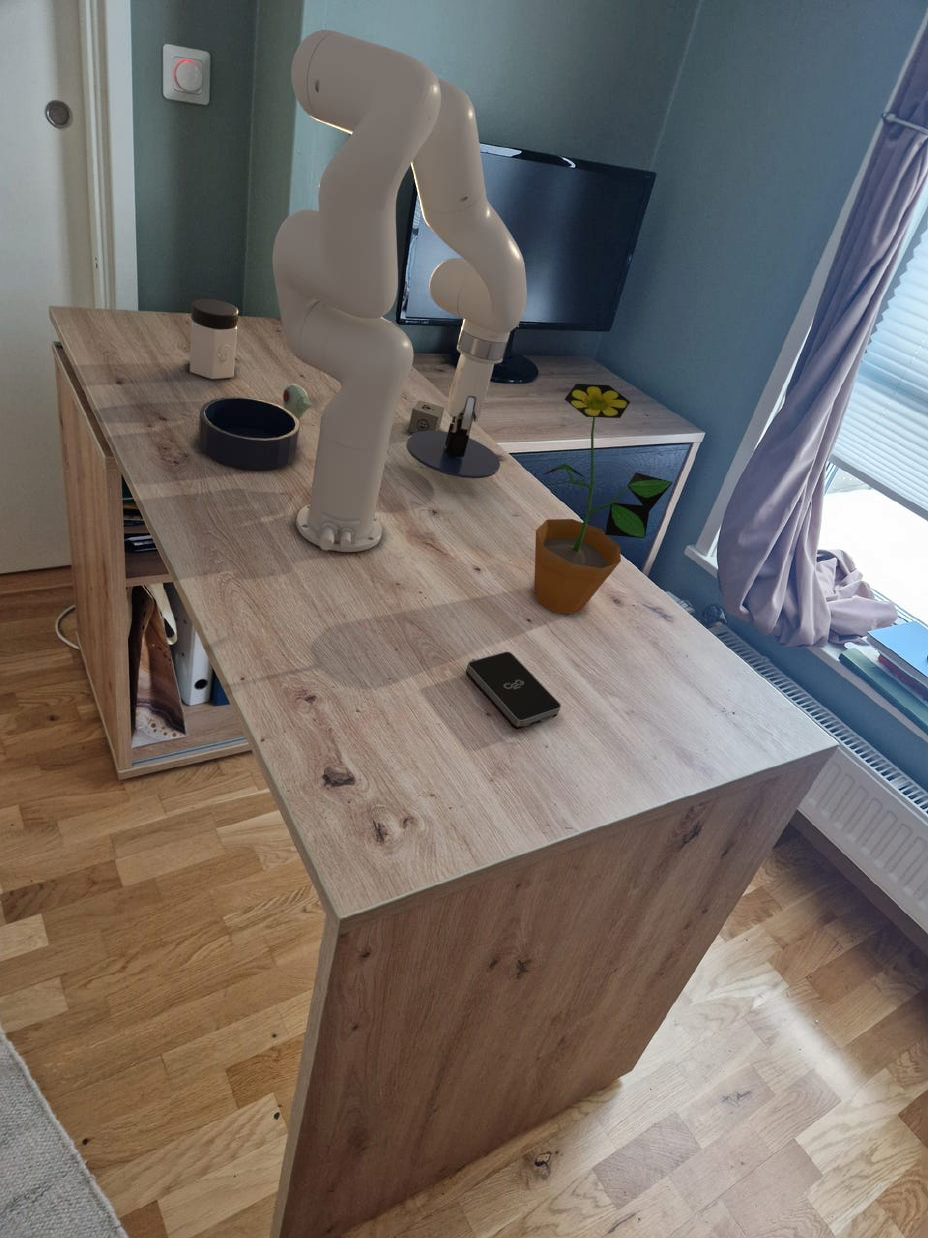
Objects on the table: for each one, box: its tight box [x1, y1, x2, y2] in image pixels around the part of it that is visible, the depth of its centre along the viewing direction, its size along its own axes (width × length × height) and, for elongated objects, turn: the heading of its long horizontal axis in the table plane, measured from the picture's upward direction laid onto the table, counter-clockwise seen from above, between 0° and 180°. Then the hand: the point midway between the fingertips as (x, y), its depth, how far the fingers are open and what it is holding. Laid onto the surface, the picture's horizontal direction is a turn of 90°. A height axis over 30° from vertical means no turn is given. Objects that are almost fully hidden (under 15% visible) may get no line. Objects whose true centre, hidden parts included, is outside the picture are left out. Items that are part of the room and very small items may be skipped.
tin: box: [198, 396, 301, 472], centre depth 134 cm, size 15×15×5 cm
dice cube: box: [407, 399, 445, 434], centre depth 154 cm, size 5×5×5 cm
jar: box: [189, 298, 239, 380], centre depth 152 cm, size 9×8×12 cm
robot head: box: [282, 383, 313, 421], centre depth 145 cm, size 8×4×7 cm, turn 34°
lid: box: [405, 422, 501, 479], centre depth 139 cm, size 16×16×6 cm
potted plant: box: [533, 383, 674, 616], centre depth 112 cm, size 18×19×30 cm
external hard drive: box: [465, 651, 562, 731], centre depth 100 cm, size 7×11×2 cm, turn 35°
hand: (454, 450), depth 140 cm, fingers closed on lid, 2 cm apart
